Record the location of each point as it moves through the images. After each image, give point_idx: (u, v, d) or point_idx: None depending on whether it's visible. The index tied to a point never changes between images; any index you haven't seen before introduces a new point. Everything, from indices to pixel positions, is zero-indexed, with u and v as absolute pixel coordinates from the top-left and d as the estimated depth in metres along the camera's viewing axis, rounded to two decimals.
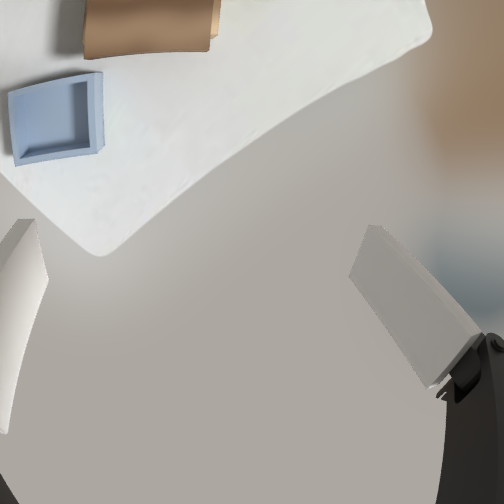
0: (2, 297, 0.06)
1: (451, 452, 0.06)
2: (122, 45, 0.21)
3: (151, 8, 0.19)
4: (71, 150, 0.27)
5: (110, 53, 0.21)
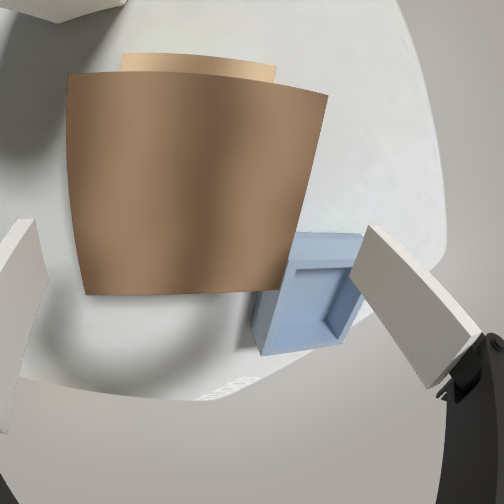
0: (2, 297, 0.06)
1: (451, 452, 0.06)
2: (279, 238, 0.17)
3: (218, 195, 0.15)
4: None
5: (286, 255, 0.18)
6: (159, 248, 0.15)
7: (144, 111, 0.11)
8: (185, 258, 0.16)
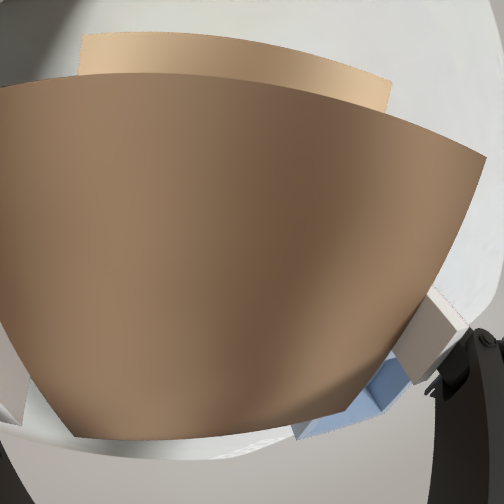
0: None
1: (441, 451, 0.06)
2: (365, 368, 0.10)
3: (288, 338, 0.08)
4: None
5: (366, 381, 0.11)
6: (180, 404, 0.08)
7: (124, 187, 0.04)
8: (222, 410, 0.09)
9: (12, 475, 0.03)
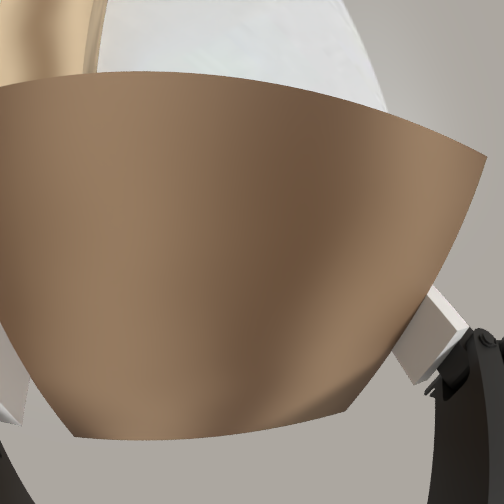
0: None
1: (441, 451, 0.06)
2: (365, 368, 0.10)
3: (289, 338, 0.08)
4: None
5: (366, 381, 0.11)
6: (180, 404, 0.08)
7: (124, 186, 0.04)
8: (223, 410, 0.09)
9: (11, 475, 0.03)
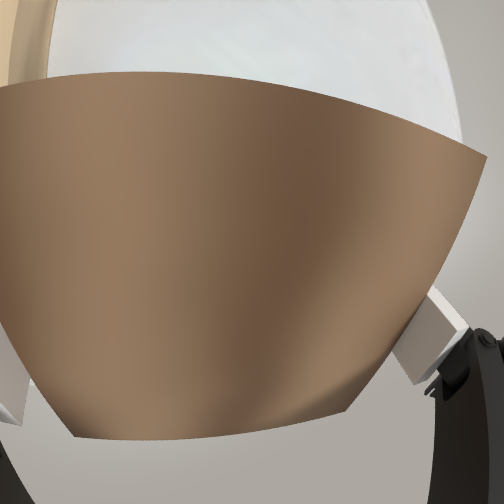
0: None
1: (441, 451, 0.06)
2: (365, 368, 0.10)
3: (288, 338, 0.08)
4: None
5: (366, 381, 0.11)
6: (180, 404, 0.08)
7: (124, 186, 0.04)
8: (223, 410, 0.09)
9: (12, 475, 0.03)
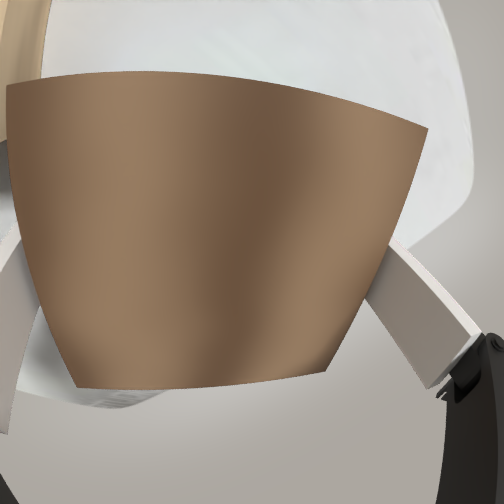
0: (2, 297, 0.06)
1: (451, 452, 0.06)
2: (337, 321, 0.12)
3: (261, 278, 0.10)
4: None
5: (341, 337, 0.13)
6: (172, 344, 0.10)
7: (137, 147, 0.06)
8: (210, 354, 0.11)
9: None
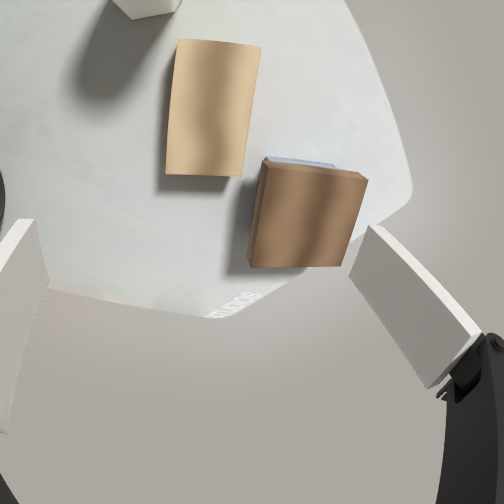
0: (2, 297, 0.06)
1: (451, 452, 0.06)
2: (343, 240, 0.36)
3: (321, 222, 0.34)
4: None
5: (345, 248, 0.37)
6: (293, 244, 0.35)
7: (298, 187, 0.31)
8: (303, 249, 0.35)
9: None
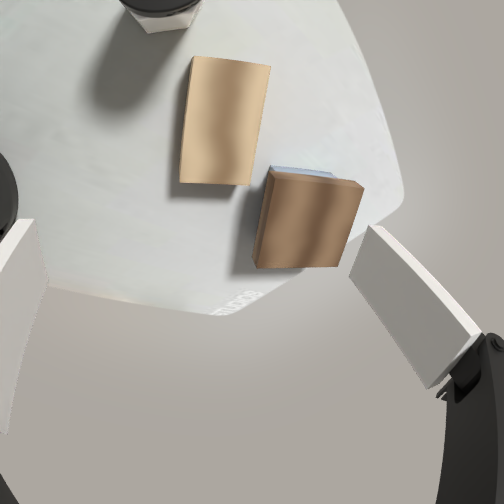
0: (2, 297, 0.06)
1: (451, 452, 0.06)
2: (340, 243, 0.40)
3: (321, 226, 0.37)
4: None
5: (342, 250, 0.40)
6: (295, 247, 0.38)
7: (302, 195, 0.34)
8: (304, 251, 0.39)
9: None
